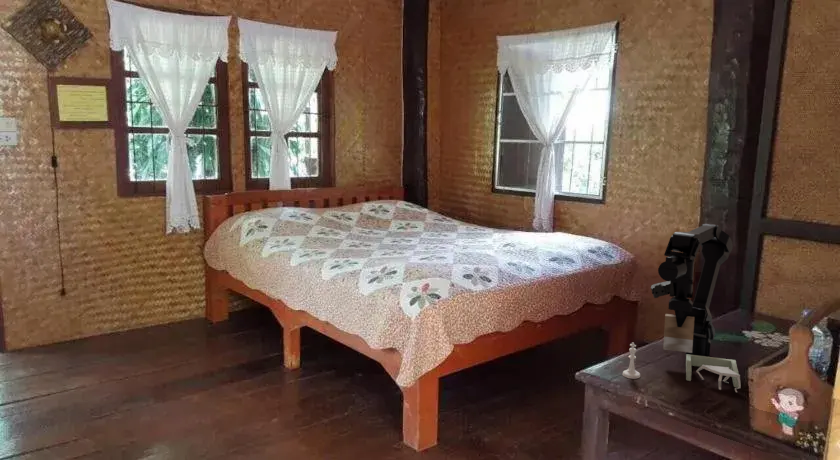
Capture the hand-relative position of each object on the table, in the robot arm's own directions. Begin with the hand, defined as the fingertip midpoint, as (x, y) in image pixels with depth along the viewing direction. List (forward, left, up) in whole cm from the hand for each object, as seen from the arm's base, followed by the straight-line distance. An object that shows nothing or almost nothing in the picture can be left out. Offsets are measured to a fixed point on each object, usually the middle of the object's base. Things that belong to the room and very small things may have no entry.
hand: (679, 325), depth 186 cm
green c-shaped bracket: (+9, -3, -13) cm, 16 cm away
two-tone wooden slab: (0, 0, -8) cm, 8 cm away
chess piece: (-12, -12, -13) cm, 21 cm away
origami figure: (+11, -10, -13) cm, 20 cm away
